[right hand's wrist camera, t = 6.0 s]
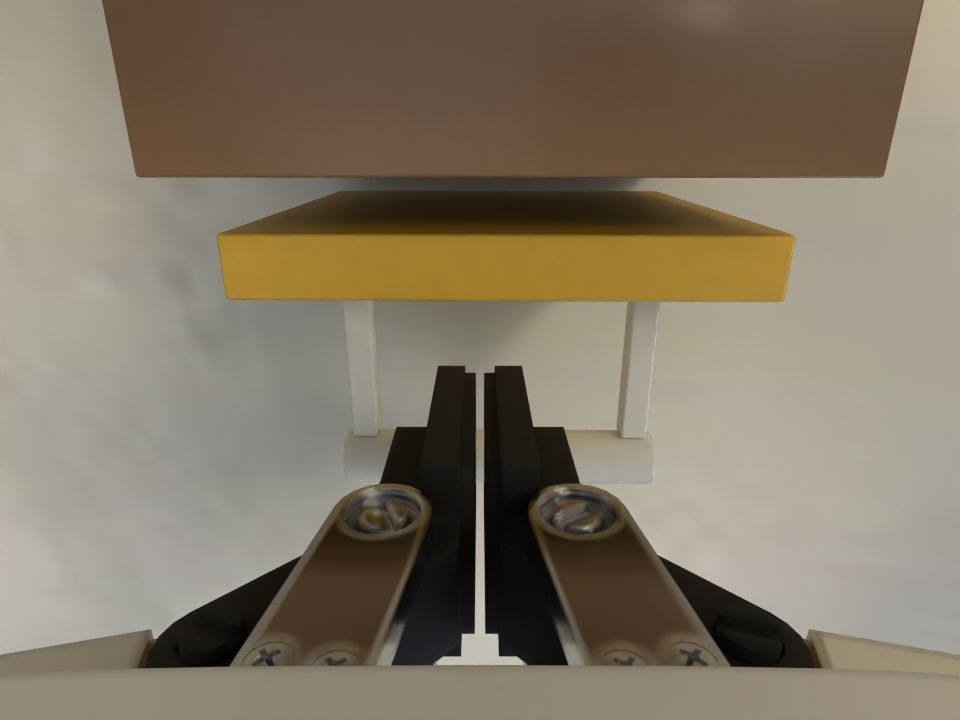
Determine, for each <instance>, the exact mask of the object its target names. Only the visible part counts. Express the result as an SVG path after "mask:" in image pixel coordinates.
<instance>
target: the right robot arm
mask: <svg viewBox="0 0 960 720" xmlns="http://www.w3.org/2000/svg"><path fill="white" fill-rule="evenodd" d="M475 552H476V373H465V366H438V370H437V375H436V381H435V386H434V391H433V397H432V402H431V407H430V413H429V418H428V423H427V427H397V428H396V430H395V433H394V437H393V440H392V443H391V447H390V450H389V454H388V457H387V460H386V464H385V467H384V471H383V474H382V477H381V481H380V484H377V485H372V486H367V487H364V488H361V489H358V490H355V491H353V492H351V493H350V494H348V495H347V496H345V497H343V498H342V499H341V500H340V501H339V502H338V503H337V504H336V505H335V507H334V508H333V510H332V511H331V513H330V514H329V516H328V517H327V519H326V520H325V522H324V523H323V525H322V526H321V528H320V530H319V531H318V533H317V534H316V536H315V537H314V539H313V540H312V542H311V543H310V545H309V546H308V548H307V549H306V551H305V552H304V554H303V555H302V556H300V557H298V558H296V559H294V560H292V561H290V562H288V563H286V564H284V565H282V566H280V567H278V568H276V569H274V570H272V571H270V572H268V573H266V574H264V575H262V576H261V577H259V578H257V579H255V580H253V581H251V582H249V583H247V584H245V585H243V586H241V587H239V588H237V589H235V590H233V591H231V592H229V593H227V594H225V595H223V596H221V597H219V598H217V599H215V600H214V601H212V602H210V603H208V604H206V605H204V606H202V607H200V608H198V609H196V610H194V611H192V612H190V613H188V614H187V615H185V616H184V617H182V618H181V619H179V620H177V621H176V622H174V623H173V624H172V625H171V626H170V627H168V628H167V629H166V630H165V631H164V632H163V633H162V634H161V635H160V636H159V637H158V639H153V635H152V631H151V629H150V630H144V631H138V632H132V633H126V634H121V635H115V636H109V637H103V638H97V639H91V640H85V641H79V642H73V643H68V644H62V645H56V646H50V647H44V648H38V649H32V650H26V651H20V652H15V653H9V654H3V655H0V720H960V655H957V654H951V653H945V652H940V651H934V650H928V649H922V648H916V647H910V646H904V645H898V644H892V643H887V642H881V641H875V640H869V639H863V638H857V637H851V636H845V635H839V634H834V633H828V632H822V631H816V630H810V629H809V631H808V635H807V639H802V637H801V636H800V635H799V634H798V633H797V632H796V631H795V630H794V629H793V628H792V627H790V626H789V625H788V624H787V623H786V622H784V621H783V620H781V619H779V618H778V617H776V616H775V615H773V614H772V613H770V612H768V611H766V610H764V609H762V608H760V607H758V606H756V605H754V604H752V603H750V602H748V601H746V600H745V599H743V598H741V597H739V596H737V595H735V594H733V593H731V592H729V591H727V590H725V589H723V588H721V587H719V586H717V585H715V584H713V583H711V582H709V581H707V580H705V579H703V578H701V577H699V576H698V575H696V574H694V573H692V572H690V571H688V570H686V569H684V568H682V567H680V566H678V565H676V564H674V563H672V562H670V561H668V560H666V559H664V558H662V557H660V556H658V555H657V554H656V552H655V551H654V549H653V548H652V546H651V545H650V543H649V542H648V540H647V539H646V537H645V536H644V534H643V533H642V531H641V530H640V528H639V526H638V525H637V523H636V522H635V520H634V519H633V517H632V516H631V514H630V513H629V511H628V510H627V508H626V507H625V505H624V504H623V503H622V502H621V501H620V500H619V499H618V498H617V497H615V496H613V495H612V494H610V493H609V492H607V491H605V490H602V489H599V488H596V487H593V486H588V485H583V484H580V481H579V477H578V474H577V471H576V467H575V464H574V460H573V457H572V454H571V450H570V447H569V443H568V440H567V437H566V433H565V430H564V428H563V427H533V423H532V418H531V413H530V407H529V402H528V397H527V391H526V386H525V381H524V375H523V370H522V366H495V373H484V552H485V634H498V641H499V656H517V657H518V658H520V659H521V660H522V661H523V665H437V661H438V660H439V659H440V658H442V657H443V656H461V641H462V634H475Z"/></svg>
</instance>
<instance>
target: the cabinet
mask: <svg viewBox="0 0 960 720" xmlns="http://www.w3.org/2000/svg"><path fill="white" fill-rule="evenodd" d="M102 2H103V7H104V13H105V18H106V23H107V28H108V33H109V38H110V43H111V49H112V54H113V59H114V64H115V69H116V74H117V79H118V84H119V90H120V95H121V100H122V105H123V110H124V115H125V120H126V126H127V131H128V136H129V141H130V146H131V151H132V156H133V161H134V167H135V172H136V175H137V176H138V177H411V178H880V177H883V176H884V173H885V168H886V164H887V160H888V155H889V151H890V147H891V142H892V138H893V133H894V129H895V125H896V120H897V116H898V112H899V107H900V103H901V98H902V94H903V90H904V85H905V81H906V76H907V72H908V68H909V63H910V59H911V55H912V50H913V46H914V41H915V37H916V33H917V28H918V24H919V20H920V15H921V11H922V6H923V2H924V0H102Z"/></svg>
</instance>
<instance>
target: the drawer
mask: <svg viewBox="0 0 960 720" xmlns="http://www.w3.org/2000/svg"><path fill="white" fill-rule="evenodd" d="M217 241H218V248H219V254H220V261H221V267H222V274H223V280H224V286H225V293H226V298H227V299H229V300H342V305H343V317H344V329H345V340H346V352H347V364H348V376H349V388H350V400H351V412H352V424H353V429H351V430H349V432H348V434H347V437H346V441H345V447H344V470H345V475H346V478H347V480H348V481H350V482H380V481H381V477H382V474H383V471H384V467H385V464H386V460H387V457H388V454H389V450H390V447H391V443H392V440H393V437H394V433H395V430H396V429H380V427H381V411H380V396H379V380H378V365H377V350H376V334H375V319H374V304H373V300H392V301H628V304H627V316H626V327H625V338H624V349H623V360H622V371H621V382H620V394H619V405H618V416H617V429H618V430H565V433H566V437H567V440H568V443H569V447H570V450H571V454H572V457H573V460H574V464H575V467H576V471H577V474H578V477H579V481H580V484H649V483H651V481H652V479H653V476H654V471H655V450H654V444H653V440H652V437H651V435H650V433H649V432H647V431H646V428H647V419H648V410H649V401H650V392H651V382H652V373H653V364H654V355H655V346H656V337H657V328H658V319H659V309H660V302H781V301H783V300H784V296H785V291H786V286H787V280H788V275H789V269H790V264H791V259H792V253H793V248H794V242H795V236H794V235H791V234H788V233H785V232H782V231H779V230H776V229H772V228H769V227H766V226H763V225H760V224H757V223H754V222H750V221H747V220H744V219H741V218H738V217H735V216H732V215H728V214H725V213H722V212H719V211H716V210H713V209H710V208H706V207H703V206H700V205H697V204H694V203H691V202H688V201H684V200H681V199H678V198H675V197H672V196H669V195H666V194H662V193H659V192H656V191H340V192H337V193H334V194H331V195H328V196H325V197H323V198H320V199H317V200H314V201H311V202H308V203H305V204H303V205H300V206H297V207H294V208H291V209H288V210H285V211H283V212H280V213H277V214H274V215H271V216H268V217H266V218H263V219H260V220H257V221H254V222H251V223H248V224H246V225H243V226H240V227H237V228H234V229H231V230H229V231H226V232H223V233H220V234H218V235H217ZM476 483H484V430H483V429H476Z"/></svg>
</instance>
